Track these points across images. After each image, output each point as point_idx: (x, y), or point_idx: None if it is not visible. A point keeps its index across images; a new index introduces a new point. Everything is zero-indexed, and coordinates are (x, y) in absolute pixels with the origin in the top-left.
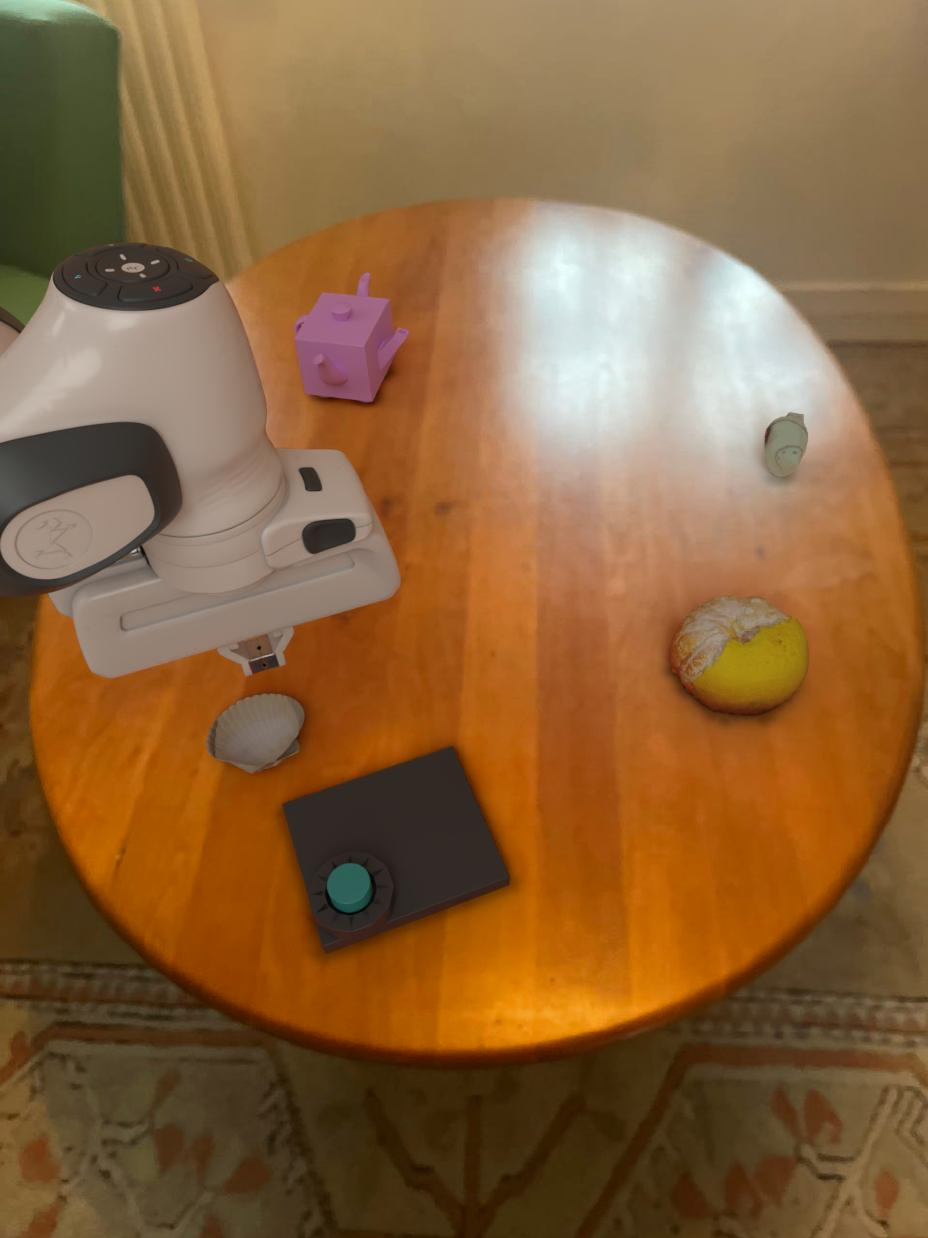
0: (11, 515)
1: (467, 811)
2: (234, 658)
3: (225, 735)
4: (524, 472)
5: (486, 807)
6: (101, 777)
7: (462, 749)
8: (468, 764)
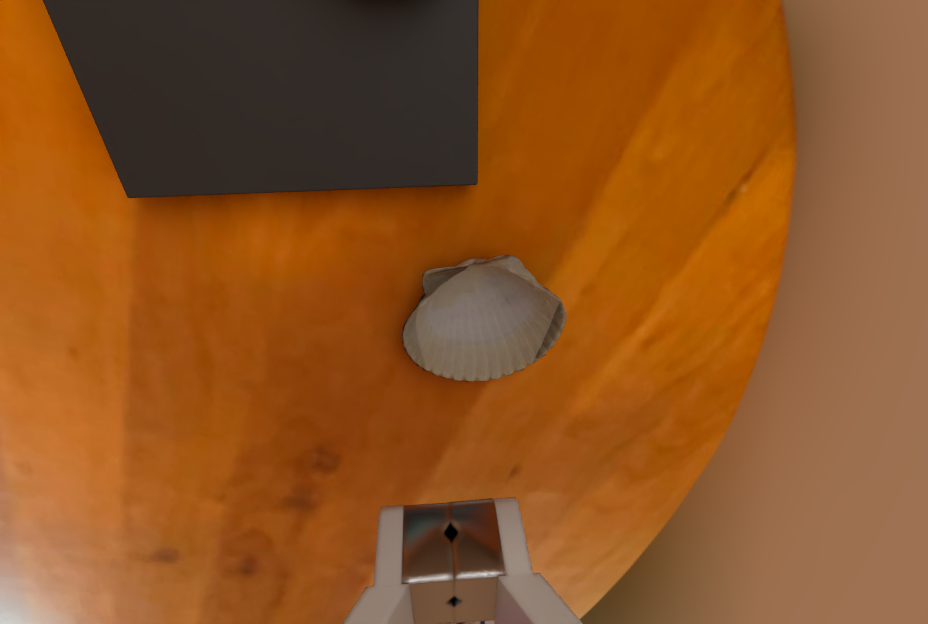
0: None
1: (82, 21)
2: (557, 616)
3: (530, 333)
4: (42, 580)
5: None
6: (706, 319)
7: None
8: None
